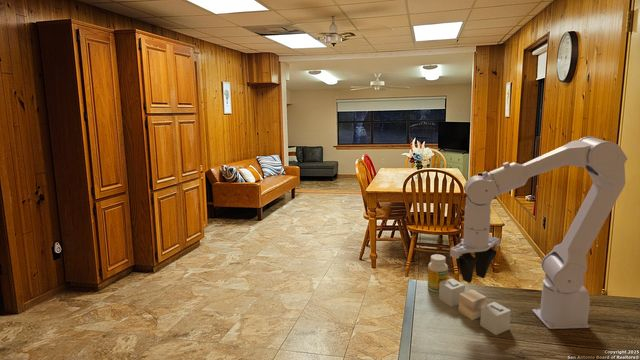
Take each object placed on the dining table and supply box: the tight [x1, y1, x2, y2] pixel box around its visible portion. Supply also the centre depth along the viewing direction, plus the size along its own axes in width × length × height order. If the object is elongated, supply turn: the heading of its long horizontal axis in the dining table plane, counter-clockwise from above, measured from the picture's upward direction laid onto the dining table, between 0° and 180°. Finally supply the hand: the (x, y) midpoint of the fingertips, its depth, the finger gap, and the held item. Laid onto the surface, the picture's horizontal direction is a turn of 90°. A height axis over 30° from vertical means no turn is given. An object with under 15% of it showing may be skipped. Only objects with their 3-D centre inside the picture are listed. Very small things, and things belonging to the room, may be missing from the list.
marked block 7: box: [438, 277, 466, 307], centre depth 108 cm, size 4×4×5 cm
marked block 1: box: [479, 301, 512, 336], centre depth 96 cm, size 4×4×5 cm
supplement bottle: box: [427, 253, 449, 294], centre depth 114 cm, size 5×5×10 cm
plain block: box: [457, 289, 487, 321], centre depth 102 cm, size 4×4×5 cm
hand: (473, 278), depth 100 cm, fingers open, 4 cm apart
